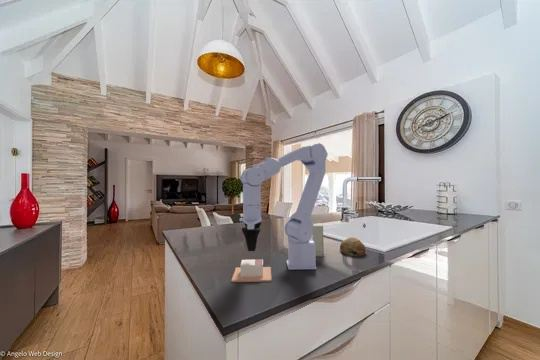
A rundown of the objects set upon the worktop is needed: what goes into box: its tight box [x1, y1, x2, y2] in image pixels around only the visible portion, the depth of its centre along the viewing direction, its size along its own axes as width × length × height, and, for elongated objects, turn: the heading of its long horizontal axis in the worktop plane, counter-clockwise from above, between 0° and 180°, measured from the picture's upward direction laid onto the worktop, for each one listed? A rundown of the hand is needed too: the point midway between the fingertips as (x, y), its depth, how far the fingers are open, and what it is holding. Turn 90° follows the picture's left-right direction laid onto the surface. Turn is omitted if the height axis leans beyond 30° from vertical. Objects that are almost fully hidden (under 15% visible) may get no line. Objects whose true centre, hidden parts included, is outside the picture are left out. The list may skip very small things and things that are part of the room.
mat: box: [231, 266, 272, 283], centre depth 71 cm, size 12×10×1 cm
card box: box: [240, 258, 264, 277], centre depth 71 cm, size 5×7×4 cm
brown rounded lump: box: [339, 237, 366, 257], centre depth 92 cm, size 10×10×8 cm
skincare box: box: [312, 223, 325, 257], centre depth 90 cm, size 6×4×12 cm
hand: (252, 247), depth 71 cm, fingers open, 7 cm apart
